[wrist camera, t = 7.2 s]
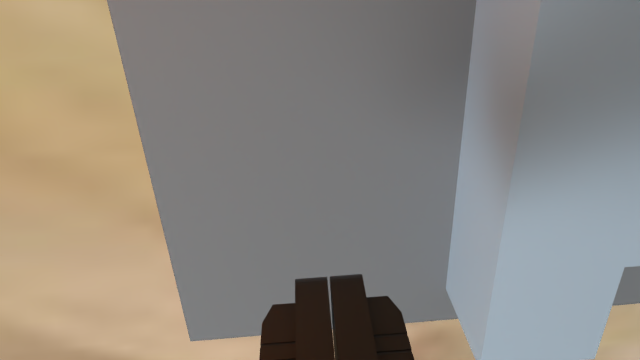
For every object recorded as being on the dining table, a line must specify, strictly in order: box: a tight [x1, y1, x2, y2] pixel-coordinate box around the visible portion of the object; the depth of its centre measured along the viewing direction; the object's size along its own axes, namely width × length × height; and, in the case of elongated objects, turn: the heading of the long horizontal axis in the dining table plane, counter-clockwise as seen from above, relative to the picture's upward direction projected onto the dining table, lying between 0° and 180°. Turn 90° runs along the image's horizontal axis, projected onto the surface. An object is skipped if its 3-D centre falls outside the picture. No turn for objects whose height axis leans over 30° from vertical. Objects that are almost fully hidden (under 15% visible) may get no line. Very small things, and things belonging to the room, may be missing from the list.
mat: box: [107, 0, 640, 341], centre depth 18 cm, size 26×16×1 cm, turn 93°
